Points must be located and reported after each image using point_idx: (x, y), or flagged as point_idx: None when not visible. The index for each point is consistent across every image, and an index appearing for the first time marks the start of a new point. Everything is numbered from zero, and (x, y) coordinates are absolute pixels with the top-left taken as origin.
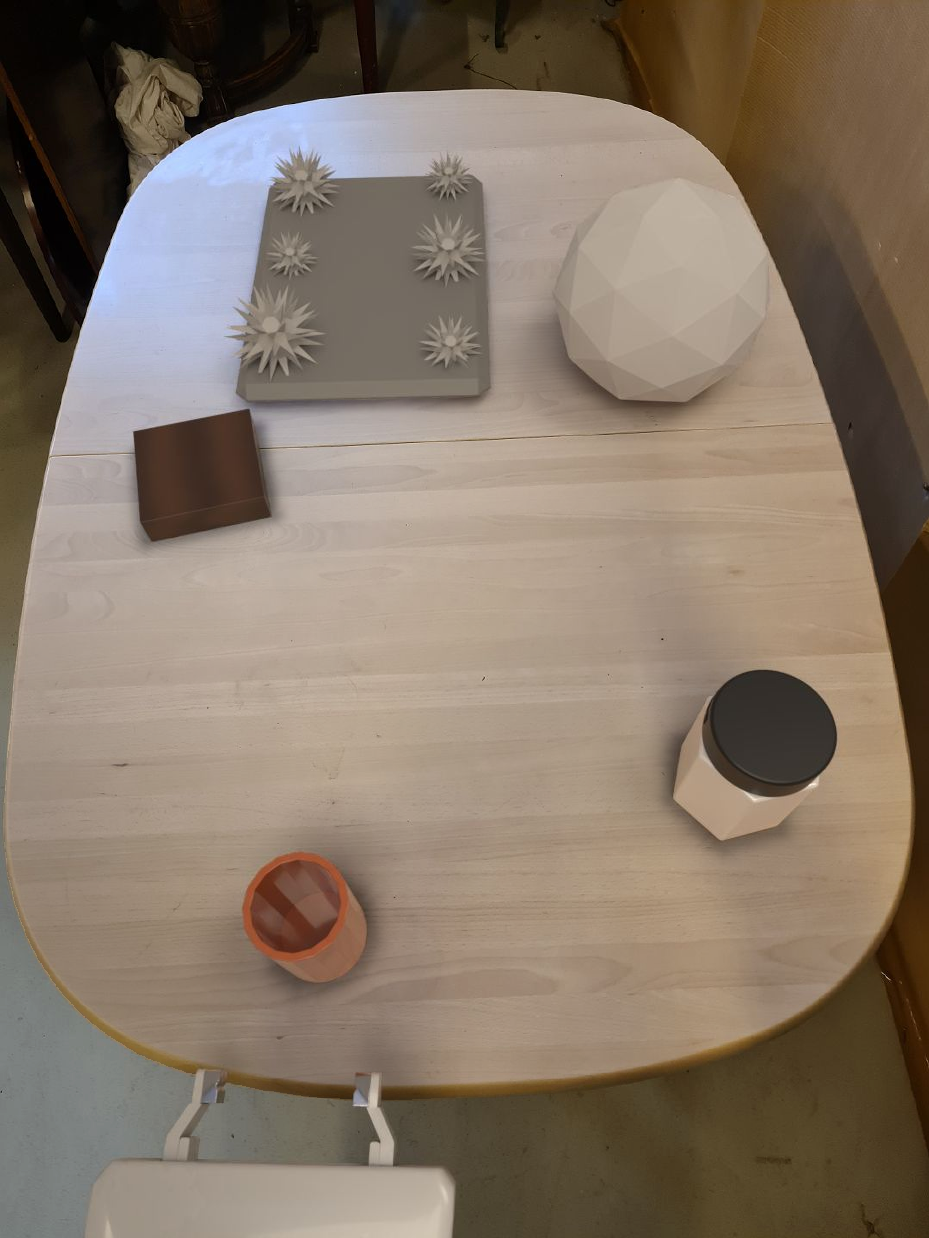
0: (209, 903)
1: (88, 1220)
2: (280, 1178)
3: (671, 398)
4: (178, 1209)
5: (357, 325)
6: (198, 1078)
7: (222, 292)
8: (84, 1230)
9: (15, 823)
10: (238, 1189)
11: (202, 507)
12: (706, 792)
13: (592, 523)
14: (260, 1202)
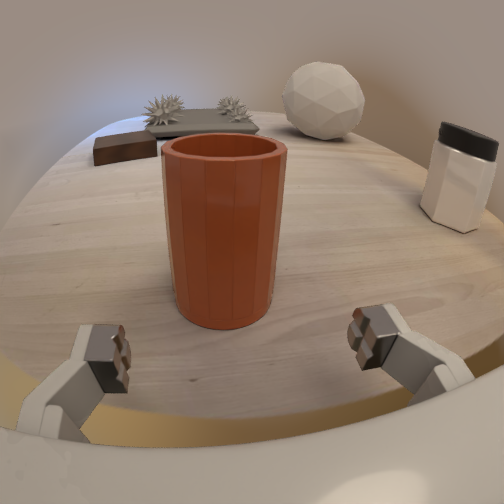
0: (107, 282)
1: None
2: (306, 455)
3: (339, 125)
4: None
5: (196, 119)
6: (83, 329)
7: (136, 129)
8: None
9: None
10: (192, 495)
11: (124, 143)
12: (456, 185)
13: (324, 157)
14: None
